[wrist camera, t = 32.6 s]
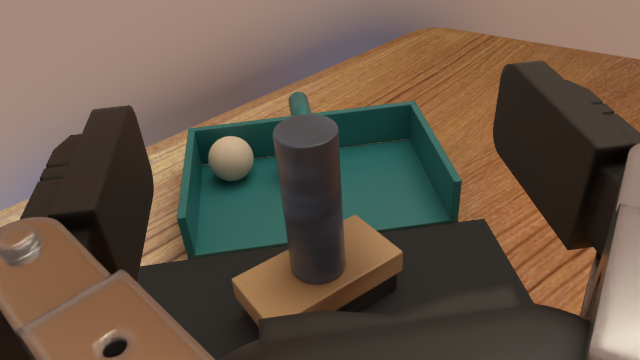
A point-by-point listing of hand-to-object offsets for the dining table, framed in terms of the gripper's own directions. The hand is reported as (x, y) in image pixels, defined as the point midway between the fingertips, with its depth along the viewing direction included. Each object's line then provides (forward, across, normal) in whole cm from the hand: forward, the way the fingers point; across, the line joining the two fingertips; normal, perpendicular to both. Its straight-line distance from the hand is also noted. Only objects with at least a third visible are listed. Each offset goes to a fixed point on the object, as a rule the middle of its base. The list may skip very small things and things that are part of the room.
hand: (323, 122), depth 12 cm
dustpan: (+23, -1, +17) cm, 29 cm away
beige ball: (+23, +4, +15) cm, 28 cm away
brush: (+10, 0, +17) cm, 19 cm away
